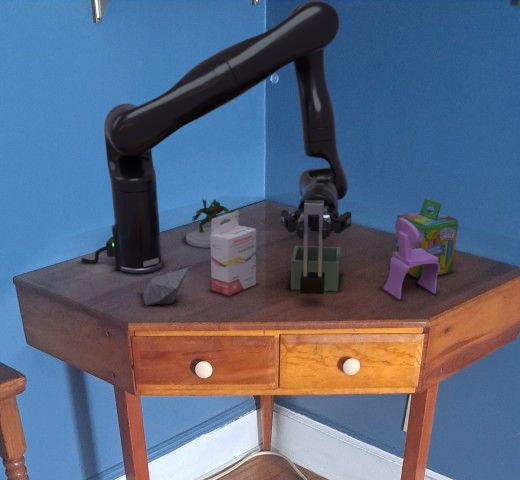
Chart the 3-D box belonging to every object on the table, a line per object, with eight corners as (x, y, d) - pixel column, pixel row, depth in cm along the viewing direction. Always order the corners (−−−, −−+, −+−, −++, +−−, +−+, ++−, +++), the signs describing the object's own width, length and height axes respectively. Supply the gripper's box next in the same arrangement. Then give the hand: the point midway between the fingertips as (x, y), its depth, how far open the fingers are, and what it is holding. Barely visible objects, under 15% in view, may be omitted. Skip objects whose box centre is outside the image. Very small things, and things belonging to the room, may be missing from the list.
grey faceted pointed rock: (124, 301, 154) (134, 273, 160) (146, 324, 157) (154, 295, 164) (173, 275, 149) (181, 246, 155) (195, 298, 152) (201, 270, 159)
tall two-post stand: (300, 293, 152) (301, 204, 144) (301, 286, 155) (302, 198, 147) (323, 294, 151) (325, 205, 143) (324, 287, 154) (326, 199, 146)
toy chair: (440, 295, 159) (448, 220, 152) (401, 301, 156) (407, 225, 149) (418, 280, 166) (424, 209, 159) (380, 286, 163) (385, 214, 156)
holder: (290, 289, 162) (291, 260, 159) (294, 273, 170) (295, 245, 168) (337, 291, 161) (338, 262, 158) (339, 274, 169) (340, 247, 167)
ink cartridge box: (229, 297, 159) (227, 223, 152) (211, 291, 162) (208, 219, 155) (257, 284, 165) (257, 213, 158) (239, 279, 167) (237, 209, 161)
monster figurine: (198, 250, 183) (196, 206, 179) (178, 236, 193) (175, 193, 188) (245, 242, 188) (245, 199, 184) (223, 228, 198) (222, 187, 193)
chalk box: (391, 268, 172) (396, 199, 166) (423, 260, 177) (429, 193, 170) (421, 281, 166) (427, 210, 159) (454, 272, 170) (461, 203, 163)
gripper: (282, 186, 159) (273, 212, 144) (355, 188, 157) (353, 214, 142) (282, 224, 162) (273, 252, 147) (353, 225, 161) (351, 255, 146)
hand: (312, 233), depth 145 cm, fingers closed on tall two-post stand, 3 cm apart
